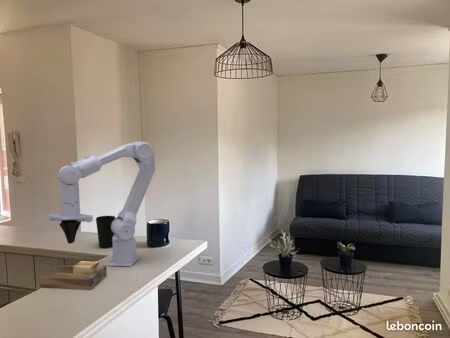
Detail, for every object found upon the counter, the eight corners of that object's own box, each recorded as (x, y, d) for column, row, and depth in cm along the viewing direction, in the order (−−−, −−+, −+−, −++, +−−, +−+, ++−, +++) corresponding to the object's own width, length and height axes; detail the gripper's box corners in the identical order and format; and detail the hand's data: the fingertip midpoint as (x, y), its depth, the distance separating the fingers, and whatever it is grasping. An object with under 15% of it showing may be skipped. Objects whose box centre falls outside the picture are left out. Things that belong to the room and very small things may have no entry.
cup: (94, 245, 153) (93, 217, 152) (112, 242, 158) (111, 214, 157) (100, 250, 147) (99, 220, 146) (119, 247, 152) (118, 218, 151)
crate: (81, 274, 119) (81, 260, 118) (99, 275, 118) (99, 261, 118) (73, 281, 114) (72, 266, 113) (92, 282, 113) (91, 267, 113)
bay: (59, 273, 123) (59, 263, 122) (106, 275, 121) (106, 265, 121) (40, 287, 112) (39, 276, 111) (91, 289, 110) (90, 278, 110)
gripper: (41, 203, 119) (43, 245, 121) (85, 205, 118) (86, 246, 119) (54, 200, 126) (55, 239, 127) (95, 201, 125) (96, 240, 126)
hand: (71, 242), depth 124 cm, fingers closed
